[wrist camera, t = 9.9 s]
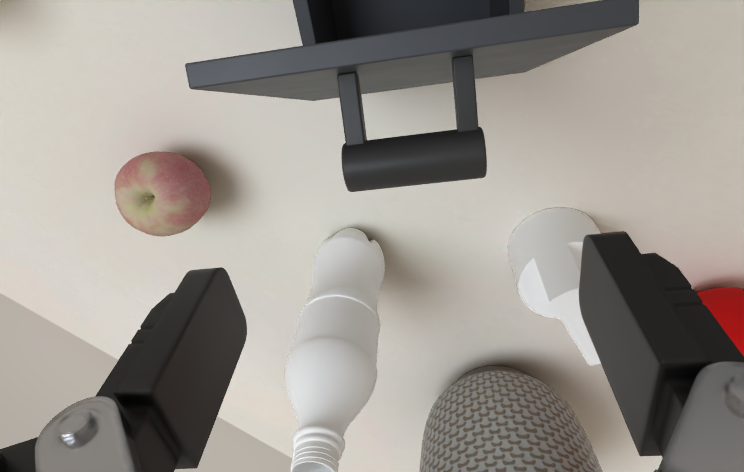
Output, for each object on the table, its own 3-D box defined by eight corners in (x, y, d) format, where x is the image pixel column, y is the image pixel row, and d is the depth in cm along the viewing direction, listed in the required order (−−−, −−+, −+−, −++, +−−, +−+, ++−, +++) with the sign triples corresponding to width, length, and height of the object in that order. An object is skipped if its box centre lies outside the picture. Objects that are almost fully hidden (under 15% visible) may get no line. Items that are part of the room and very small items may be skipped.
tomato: (664, 265, 51) (721, 345, 42) (782, 269, 50) (865, 351, 41) (632, 348, 57) (674, 433, 48) (735, 353, 57) (798, 439, 48)
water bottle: (308, 228, 51) (239, 447, 30) (375, 214, 50) (350, 434, 29) (330, 281, 55) (282, 508, 34) (393, 269, 53) (382, 500, 33)
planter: (567, 324, 56) (628, 487, 40) (578, 430, 66) (631, 594, 50) (398, 350, 60) (393, 508, 44) (433, 446, 70) (440, 603, 54)
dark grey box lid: (183, 63, 16) (214, 215, 17) (639, -6, 14) (639, 170, 15) (310, 88, 33) (322, 163, 34) (524, 58, 31) (529, 139, 32)
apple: (227, 151, 47) (197, 191, 40) (216, 216, 51) (187, 262, 45) (143, 125, 46) (98, 161, 39) (139, 193, 50) (97, 236, 44)
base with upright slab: (492, 233, 50) (512, 314, 40) (579, 191, 47) (624, 267, 37) (530, 292, 54) (557, 379, 44) (612, 257, 51) (662, 342, 41)
